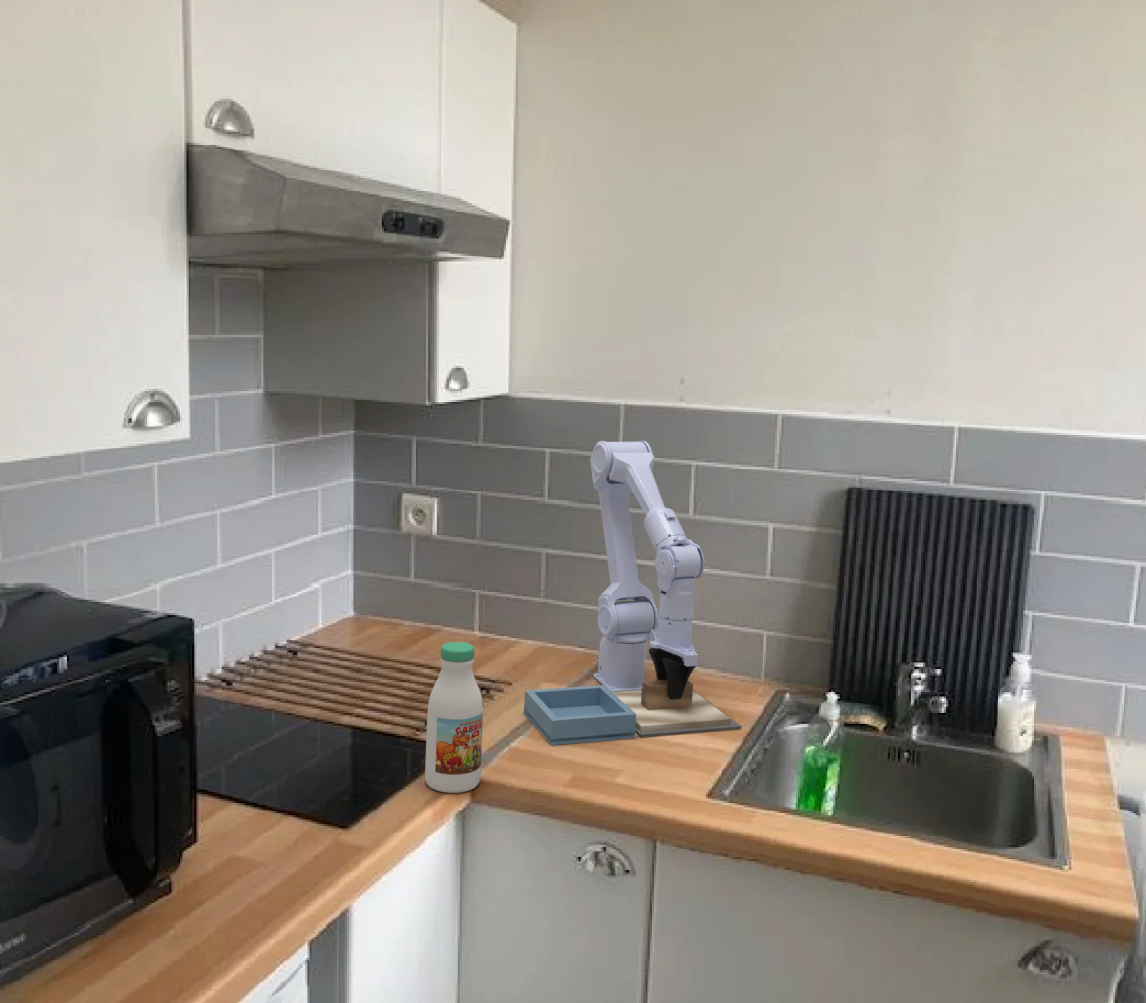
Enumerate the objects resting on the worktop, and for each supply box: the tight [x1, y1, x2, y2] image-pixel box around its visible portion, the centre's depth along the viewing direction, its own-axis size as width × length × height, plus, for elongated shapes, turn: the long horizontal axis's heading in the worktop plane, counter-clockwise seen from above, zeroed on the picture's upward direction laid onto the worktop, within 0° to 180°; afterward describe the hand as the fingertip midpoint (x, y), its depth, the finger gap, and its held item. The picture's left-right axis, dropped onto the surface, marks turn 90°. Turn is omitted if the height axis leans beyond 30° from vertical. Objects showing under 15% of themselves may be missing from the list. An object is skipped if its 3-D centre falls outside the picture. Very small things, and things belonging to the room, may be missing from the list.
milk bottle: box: [424, 641, 484, 794], centre depth 157 cm, size 8×8×20 cm
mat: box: [635, 689, 742, 739], centre depth 191 cm, size 18×18×1 cm
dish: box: [523, 684, 636, 746], centre depth 183 cm, size 14×14×4 cm
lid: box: [612, 679, 731, 732], centre depth 190 cm, size 16×16×5 cm
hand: (669, 694), depth 190 cm, fingers open, 3 cm apart
